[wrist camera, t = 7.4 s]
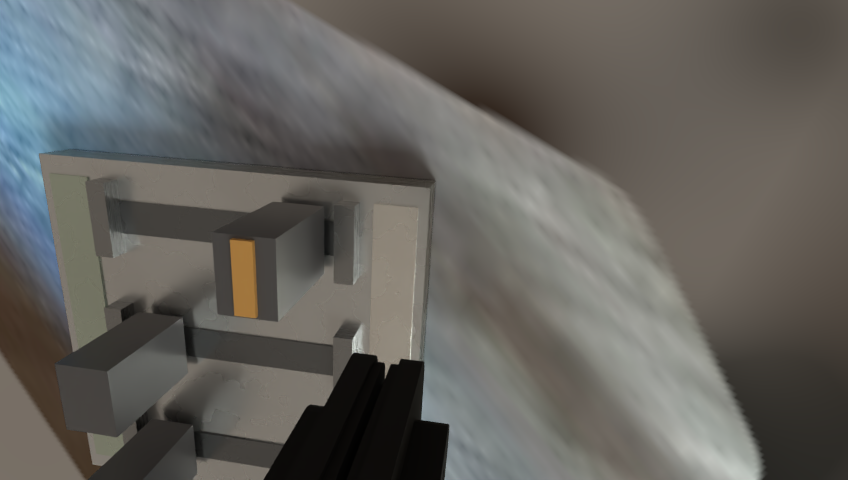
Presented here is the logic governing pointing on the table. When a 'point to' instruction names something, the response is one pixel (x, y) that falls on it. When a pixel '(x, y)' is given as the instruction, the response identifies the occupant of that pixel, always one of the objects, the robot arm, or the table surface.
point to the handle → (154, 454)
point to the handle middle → (122, 373)
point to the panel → (196, 293)
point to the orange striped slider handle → (268, 260)
